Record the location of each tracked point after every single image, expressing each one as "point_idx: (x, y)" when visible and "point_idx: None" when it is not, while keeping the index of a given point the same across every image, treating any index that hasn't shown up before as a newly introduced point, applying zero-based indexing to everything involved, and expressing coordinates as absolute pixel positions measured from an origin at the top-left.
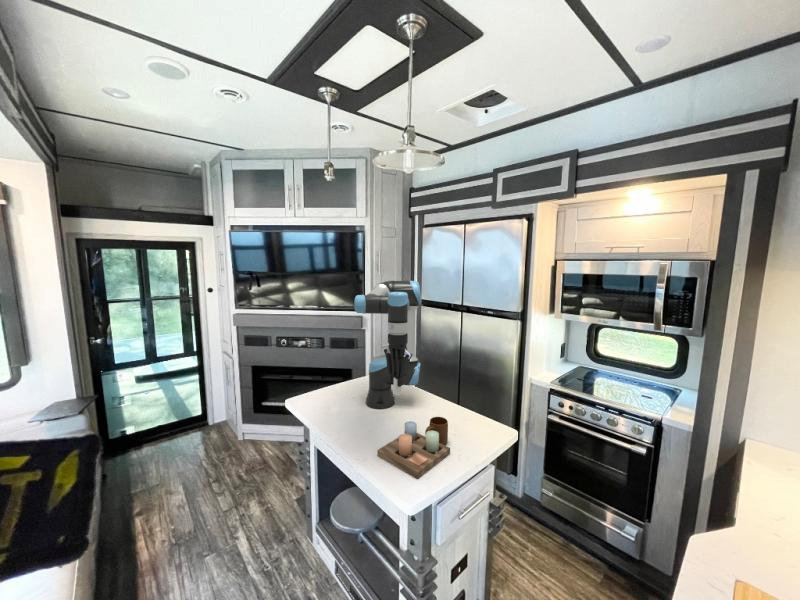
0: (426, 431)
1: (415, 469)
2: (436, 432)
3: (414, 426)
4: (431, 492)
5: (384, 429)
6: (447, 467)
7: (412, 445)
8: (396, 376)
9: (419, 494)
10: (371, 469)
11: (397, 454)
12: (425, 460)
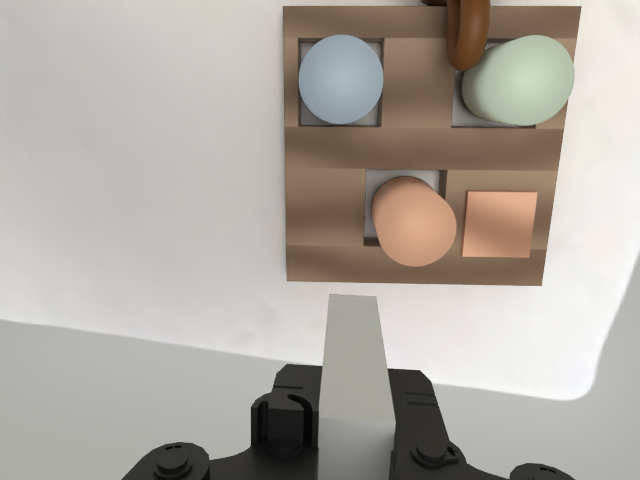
0: (467, 66)
1: (521, 277)
2: (544, 46)
3: (380, 86)
4: (615, 299)
5: (129, 69)
6: (602, 123)
7: (395, 135)
8: (317, 476)
9: (581, 334)
10: None
11: None
12: (534, 207)
